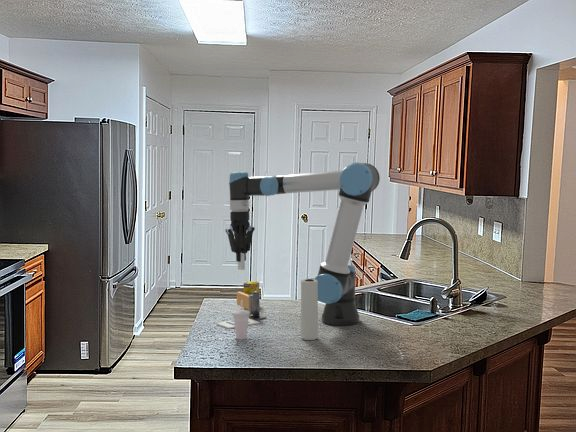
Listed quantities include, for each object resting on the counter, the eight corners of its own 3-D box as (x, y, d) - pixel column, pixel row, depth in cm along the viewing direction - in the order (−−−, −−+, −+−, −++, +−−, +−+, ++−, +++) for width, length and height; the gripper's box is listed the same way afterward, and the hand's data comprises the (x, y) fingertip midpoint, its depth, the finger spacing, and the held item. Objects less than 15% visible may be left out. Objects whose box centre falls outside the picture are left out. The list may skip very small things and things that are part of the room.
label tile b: (241, 326, 256) (241, 324, 256) (228, 329, 253) (228, 327, 253) (229, 322, 263) (229, 320, 263) (216, 324, 260) (216, 322, 260)
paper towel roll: (312, 341, 234) (312, 282, 233) (297, 339, 237) (297, 280, 236) (322, 337, 240) (322, 279, 239) (307, 334, 244) (307, 277, 242)
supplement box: (256, 308, 290) (256, 283, 289) (243, 307, 291) (243, 283, 290) (259, 305, 295) (259, 281, 295) (246, 305, 297) (246, 281, 296)
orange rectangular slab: (256, 314, 273) (256, 295, 273) (251, 314, 272) (250, 295, 271) (241, 307, 287) (241, 289, 286) (236, 307, 286) (235, 289, 285)
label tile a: (259, 323, 261) (259, 321, 261) (247, 325, 258) (247, 323, 258) (247, 319, 268) (247, 317, 268) (234, 321, 265) (234, 319, 265)
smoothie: (252, 336, 241) (252, 299, 240) (246, 341, 235) (245, 302, 234) (236, 335, 243) (236, 297, 242) (229, 339, 237) (229, 301, 236)
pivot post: (266, 318, 270) (266, 292, 269) (254, 320, 266) (254, 293, 265) (258, 315, 275) (257, 289, 274) (246, 317, 271) (245, 291, 270)
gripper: (231, 211, 255) (233, 272, 257) (258, 210, 264) (260, 268, 265) (220, 211, 261) (222, 270, 263) (247, 209, 270) (249, 266, 271)
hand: (241, 269), depth 264 cm, fingers closed
